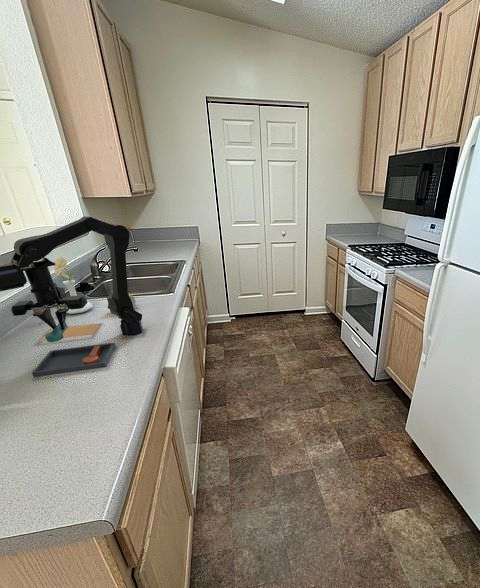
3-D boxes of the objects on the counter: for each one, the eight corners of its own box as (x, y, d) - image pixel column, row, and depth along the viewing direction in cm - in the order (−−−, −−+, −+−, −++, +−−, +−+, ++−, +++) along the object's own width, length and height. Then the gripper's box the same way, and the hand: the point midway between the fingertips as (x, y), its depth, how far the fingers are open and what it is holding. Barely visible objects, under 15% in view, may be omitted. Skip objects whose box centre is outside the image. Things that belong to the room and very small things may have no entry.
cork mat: (100, 324, 135) (100, 323, 135) (91, 338, 123) (91, 337, 123) (50, 329, 131) (50, 329, 131) (36, 345, 119) (35, 344, 119)
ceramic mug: (132, 313, 146) (128, 296, 142) (113, 314, 145) (108, 297, 141) (139, 305, 155) (136, 289, 152) (121, 306, 154) (117, 290, 151)
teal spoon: (72, 327, 110) (70, 321, 109) (61, 340, 101) (58, 335, 100) (57, 328, 109) (54, 323, 108) (44, 343, 100) (42, 337, 99)
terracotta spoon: (106, 350, 113) (104, 344, 112) (98, 365, 103) (96, 360, 103) (92, 351, 112) (90, 346, 111) (82, 368, 102) (80, 362, 101)
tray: (116, 348, 116) (114, 342, 115) (106, 369, 103) (104, 362, 102) (52, 356, 111) (50, 350, 110) (34, 379, 99) (31, 372, 98)
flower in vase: (61, 311, 150) (41, 255, 138) (90, 305, 156) (72, 251, 145) (67, 319, 141) (46, 260, 130) (97, 312, 148) (79, 255, 136)
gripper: (84, 273, 108) (98, 317, 115) (17, 278, 104) (36, 324, 111) (73, 282, 99) (90, 329, 106) (0, 289, 94) (22, 338, 101)
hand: (60, 330), depth 106 cm, fingers closed on teal spoon, 2 cm apart
